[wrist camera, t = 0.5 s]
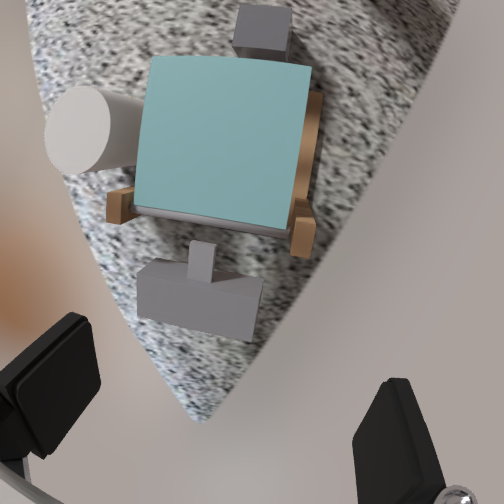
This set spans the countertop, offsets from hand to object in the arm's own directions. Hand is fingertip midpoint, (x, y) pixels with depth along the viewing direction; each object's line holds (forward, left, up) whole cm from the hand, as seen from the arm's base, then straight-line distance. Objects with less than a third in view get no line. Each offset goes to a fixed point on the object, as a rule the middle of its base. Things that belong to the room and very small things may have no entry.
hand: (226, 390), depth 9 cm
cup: (-7, -18, -28) cm, 34 cm away
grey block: (-19, -4, -28) cm, 34 cm away
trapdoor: (-3, -5, -18) cm, 19 cm away
